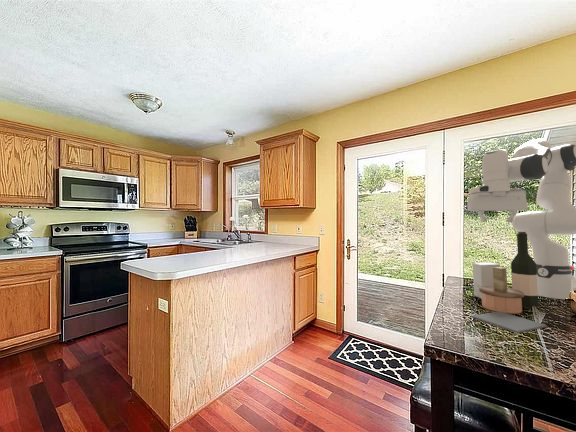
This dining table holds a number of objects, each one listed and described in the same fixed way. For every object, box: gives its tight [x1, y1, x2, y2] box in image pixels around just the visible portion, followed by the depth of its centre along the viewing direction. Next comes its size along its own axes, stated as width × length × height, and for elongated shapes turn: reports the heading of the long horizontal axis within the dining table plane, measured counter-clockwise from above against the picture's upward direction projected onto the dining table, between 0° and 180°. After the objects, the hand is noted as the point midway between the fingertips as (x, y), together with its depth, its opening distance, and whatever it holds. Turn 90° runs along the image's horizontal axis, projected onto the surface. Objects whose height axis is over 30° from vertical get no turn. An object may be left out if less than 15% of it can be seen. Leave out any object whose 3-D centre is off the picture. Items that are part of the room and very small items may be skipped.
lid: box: [479, 266, 524, 298], centre depth 100 cm, size 14×14×10 cm
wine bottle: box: [510, 232, 539, 307], centre depth 106 cm, size 8×8×30 cm
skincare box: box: [472, 261, 501, 300], centre depth 114 cm, size 8×7×16 cm
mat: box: [471, 311, 548, 334], centre depth 86 cm, size 14×14×1 cm
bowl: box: [481, 293, 523, 315], centre depth 100 cm, size 12×12×6 cm
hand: (497, 221), depth 104 cm, fingers open, 8 cm apart
